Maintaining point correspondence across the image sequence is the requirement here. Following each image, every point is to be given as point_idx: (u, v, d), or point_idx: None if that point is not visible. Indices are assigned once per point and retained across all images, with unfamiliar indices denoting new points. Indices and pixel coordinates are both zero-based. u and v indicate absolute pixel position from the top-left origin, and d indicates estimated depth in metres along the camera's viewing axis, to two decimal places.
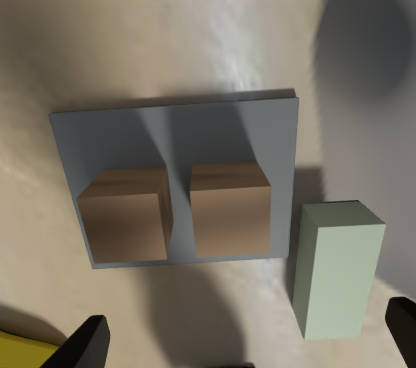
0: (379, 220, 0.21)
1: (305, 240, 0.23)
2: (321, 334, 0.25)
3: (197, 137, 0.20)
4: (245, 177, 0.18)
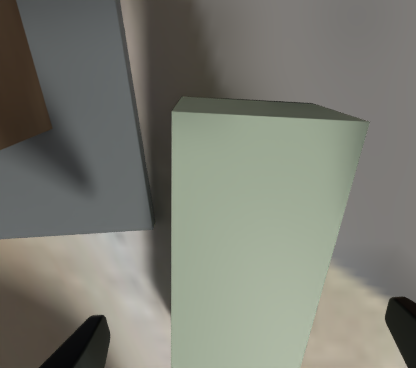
0: (352, 117, 0.07)
1: None
2: None
3: None
4: None
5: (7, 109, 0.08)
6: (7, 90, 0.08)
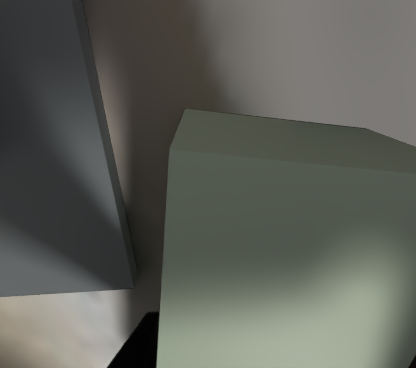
0: None
1: None
2: None
3: None
4: None
5: None
6: None
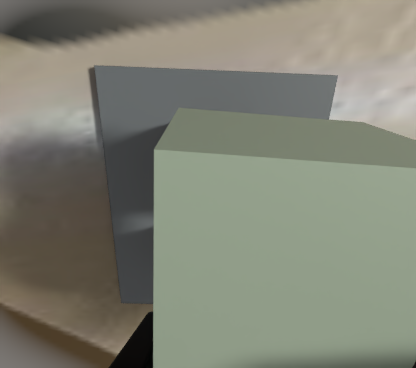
0: None
1: None
2: None
3: (143, 186, 0.19)
4: None
5: None
6: None
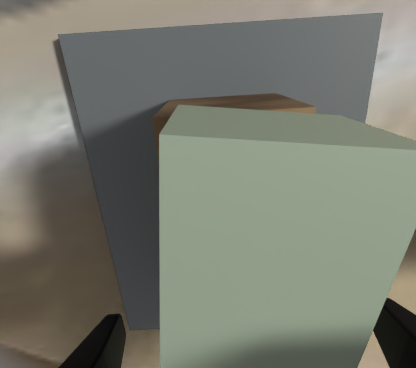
0: (415, 143, 0.05)
1: None
2: None
3: (140, 188, 0.15)
4: None
5: (263, 98, 0.11)
6: (250, 98, 0.11)
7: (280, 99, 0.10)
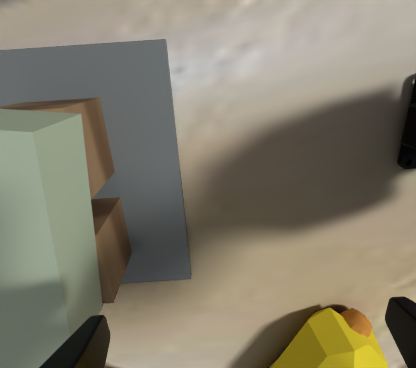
0: (35, 128, 0.10)
1: None
2: (1, 359, 0.13)
3: None
4: None
5: (70, 102, 0.15)
6: (63, 102, 0.16)
7: (74, 102, 0.15)
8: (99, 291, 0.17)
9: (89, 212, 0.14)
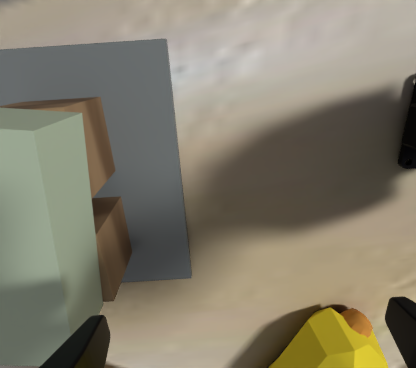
0: (36, 127, 0.10)
1: None
2: (2, 356, 0.13)
3: None
4: None
5: (71, 101, 0.16)
6: (64, 101, 0.16)
7: (75, 101, 0.15)
8: (99, 289, 0.17)
9: (90, 211, 0.14)
